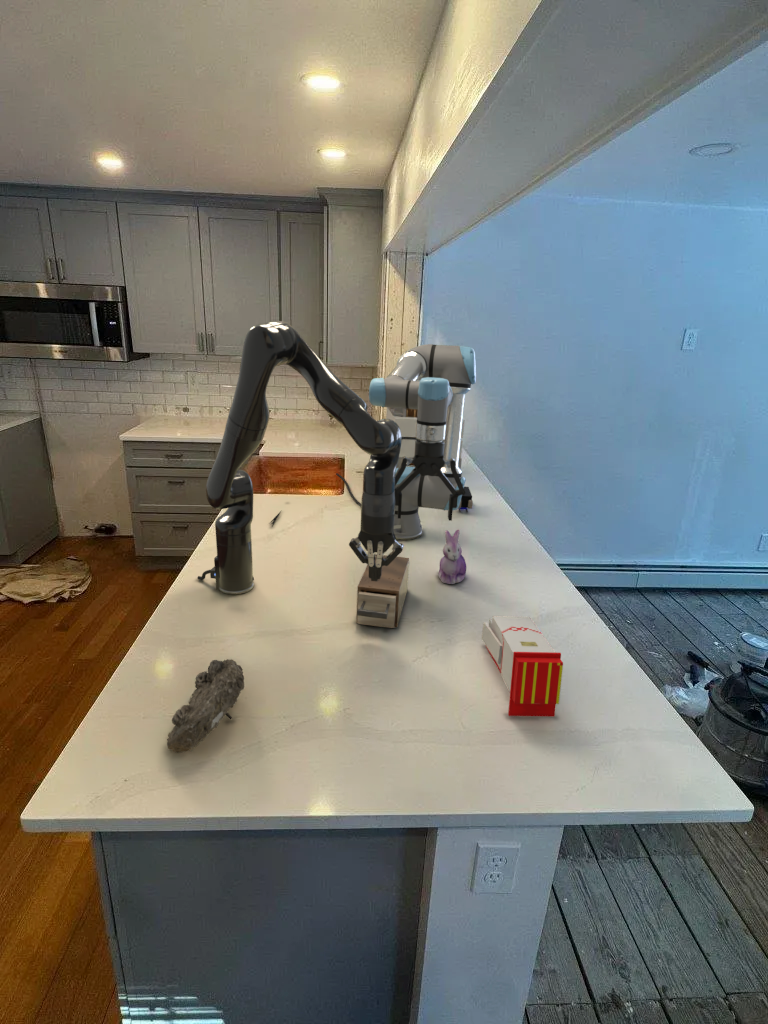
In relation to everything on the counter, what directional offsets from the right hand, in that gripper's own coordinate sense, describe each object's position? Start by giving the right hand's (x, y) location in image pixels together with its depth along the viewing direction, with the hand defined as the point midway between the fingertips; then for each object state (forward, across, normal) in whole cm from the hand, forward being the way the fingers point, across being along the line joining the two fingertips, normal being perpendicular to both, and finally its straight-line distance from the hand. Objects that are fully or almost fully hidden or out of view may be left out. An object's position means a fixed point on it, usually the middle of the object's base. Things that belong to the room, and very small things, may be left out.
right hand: (424, 518), depth 152 cm
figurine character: (+22, +21, +73) cm, 79 cm away
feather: (+22, -49, +57) cm, 79 cm away
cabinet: (+22, -10, -9) cm, 26 cm away
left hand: (+7, -13, -24) cm, 28 cm away
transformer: (+22, +7, +123) cm, 125 cm away
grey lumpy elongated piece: (+23, -42, -54) cm, 72 cm away
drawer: (+21, -11, -14) cm, 28 cm away
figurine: (+22, +10, +10) cm, 26 cm away
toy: (+22, +19, -37) cm, 47 cm away
